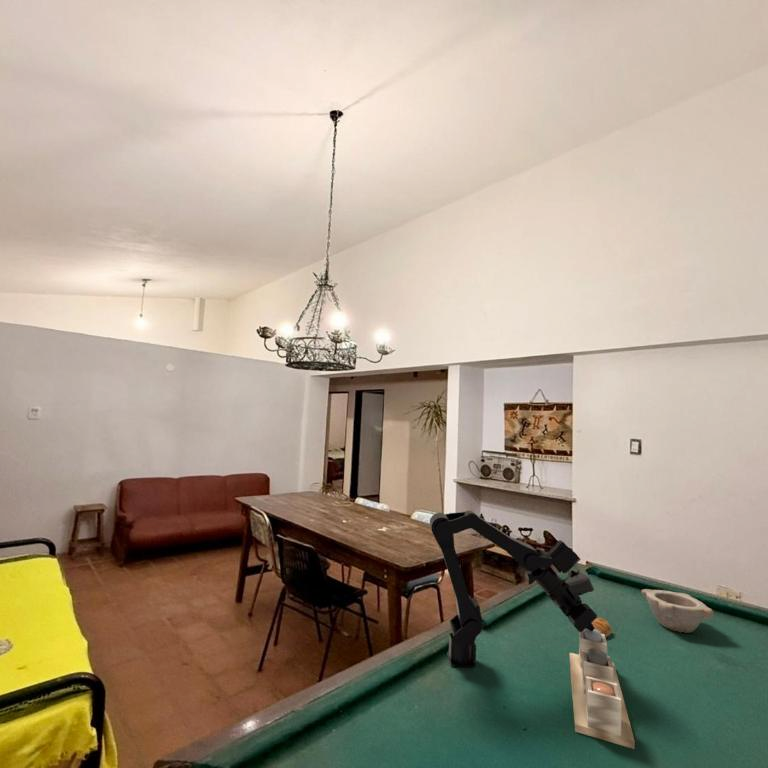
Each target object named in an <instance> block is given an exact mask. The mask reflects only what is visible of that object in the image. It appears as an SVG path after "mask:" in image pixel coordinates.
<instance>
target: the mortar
mask: <svg viewBox="0 0 768 768" xmlns="http://www.w3.org/2000/svg"><path fill="white" fill-rule="evenodd" d="M641 594H642V597H643V599H644V601H646V602H647V603H648V606H649V607H650V610H651V611H652V614H653V616H654V617H655V619H656V621H657V622H658V623H659V625H661V626H662V627H664V628H666V629H668V630H671V631H674V632H677V631H678V632H677V633H682V632H684V634H689V633H693V632H694V631H695V630H696V629H697V628H698V627H699V626H700V625H701V623H702V622H703V621H707V620H708V621H709V620H710V619H712V618H713V617H714V611H713V609H712V608H710V607H708V606H707V605H706V604H705V603H703V602H702V601H700V600H698V599H696V598H695V597H692V596H691V595H690V594H688V593H684V592H675V591H671V590H665V589H664V590H662V589H650V588H649V589H648V588H644V589H641Z"/></svg>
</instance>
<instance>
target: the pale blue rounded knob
mask: <svg viewBox="0 0 768 768" xmlns="http://www.w3.org/2000/svg"><path fill="white" fill-rule="evenodd" d="M584 630H585V639H587V640H592V641H596V642H601V632H600V631H599V630H597V629H594V630H593V631H590V630H588V629H586V628H585V629H584Z"/></svg>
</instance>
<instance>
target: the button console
mask: <svg viewBox="0 0 768 768" xmlns="http://www.w3.org/2000/svg"><path fill="white" fill-rule="evenodd" d="M578 637H579V640H578V643H579V644H578V645H579V646H578V653H574V652H569V668H570V680H571V684H570V685H571V695H572V706H573V719H574V731H575V733H579V734H582V735H585V736H589V737H593V738H595V739H600V740H602V741H606V742H609V743H612V744H616V745H619V746H623V747H625V748H629V749H633V750H635V749H636V747H635V745H636V744H635V743H636V741H635V737H634V734H633V730H632V727H631V722H630V719H629V714H628V711H627V706H626V704H625V700H624V696H623V692H622V688H621V685H620V681H619V677H618V673H617V670H616V666H615V663H614V662H612V659H611V656H609V655H608V643H607V639H606V638H605V635H604V634H601V642H596V641H592V640H587V639H585V629H584V630H583V631H582V632H579V631H578ZM589 649H598V650H601V651H603V652H604V653H606V655H607V666H603V665H599V664H594V663H590V662H588V650H589ZM595 682H600V683H604V684H606V685H608V686H610V687H611V688H612V689H613V696H611V695H607V694H603V693H599V692H595V691H593V683H595Z"/></svg>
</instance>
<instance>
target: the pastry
mask: <svg viewBox="0 0 768 768" xmlns="http://www.w3.org/2000/svg"><path fill="white" fill-rule="evenodd" d="M592 625H593V626H594V628H595V629H597V630H599V631H600V632H601V634H604V635H605V639H606V638H607V637H610V635H612V633H613V629H612V627H611V625H610V623H609V622H608V621H607V620H606V619H604V618H602V617H599V618H598V617H597V618H596V619H595V620H594V621H593V622H592Z"/></svg>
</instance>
